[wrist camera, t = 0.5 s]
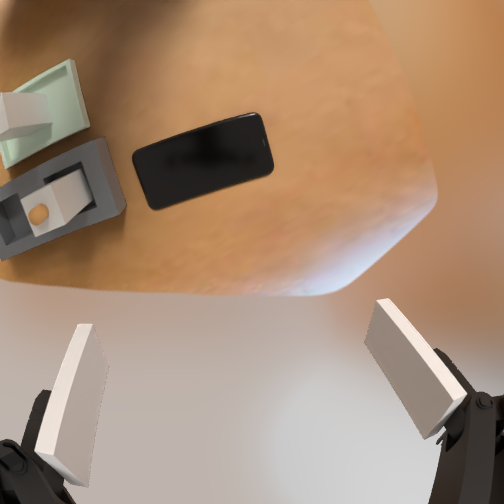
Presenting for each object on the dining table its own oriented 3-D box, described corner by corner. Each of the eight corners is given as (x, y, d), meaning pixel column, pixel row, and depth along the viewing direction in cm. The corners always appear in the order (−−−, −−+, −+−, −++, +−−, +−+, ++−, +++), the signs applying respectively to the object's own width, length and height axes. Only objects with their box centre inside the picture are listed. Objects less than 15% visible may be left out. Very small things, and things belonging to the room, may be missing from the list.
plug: (22, 108, 26) (-33, 112, 16) (45, 94, 26) (-7, 92, 16) (28, 135, 28) (-25, 148, 18) (52, 122, 28) (0, 129, 18)
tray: (-3, 106, 25) (-10, 107, 24) (74, 60, 26) (69, 58, 24) (12, 166, 29) (5, 169, 28) (90, 126, 30) (85, 127, 28)
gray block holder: (-8, 193, 30) (-61, 225, 19) (104, 136, 31) (61, 148, 20) (14, 249, 34) (-30, 294, 23) (126, 204, 35) (97, 245, 24)
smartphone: (152, 210, 36) (275, 171, 37) (151, 212, 36) (276, 172, 36) (130, 151, 33) (258, 110, 33) (128, 152, 32) (260, 109, 32)
